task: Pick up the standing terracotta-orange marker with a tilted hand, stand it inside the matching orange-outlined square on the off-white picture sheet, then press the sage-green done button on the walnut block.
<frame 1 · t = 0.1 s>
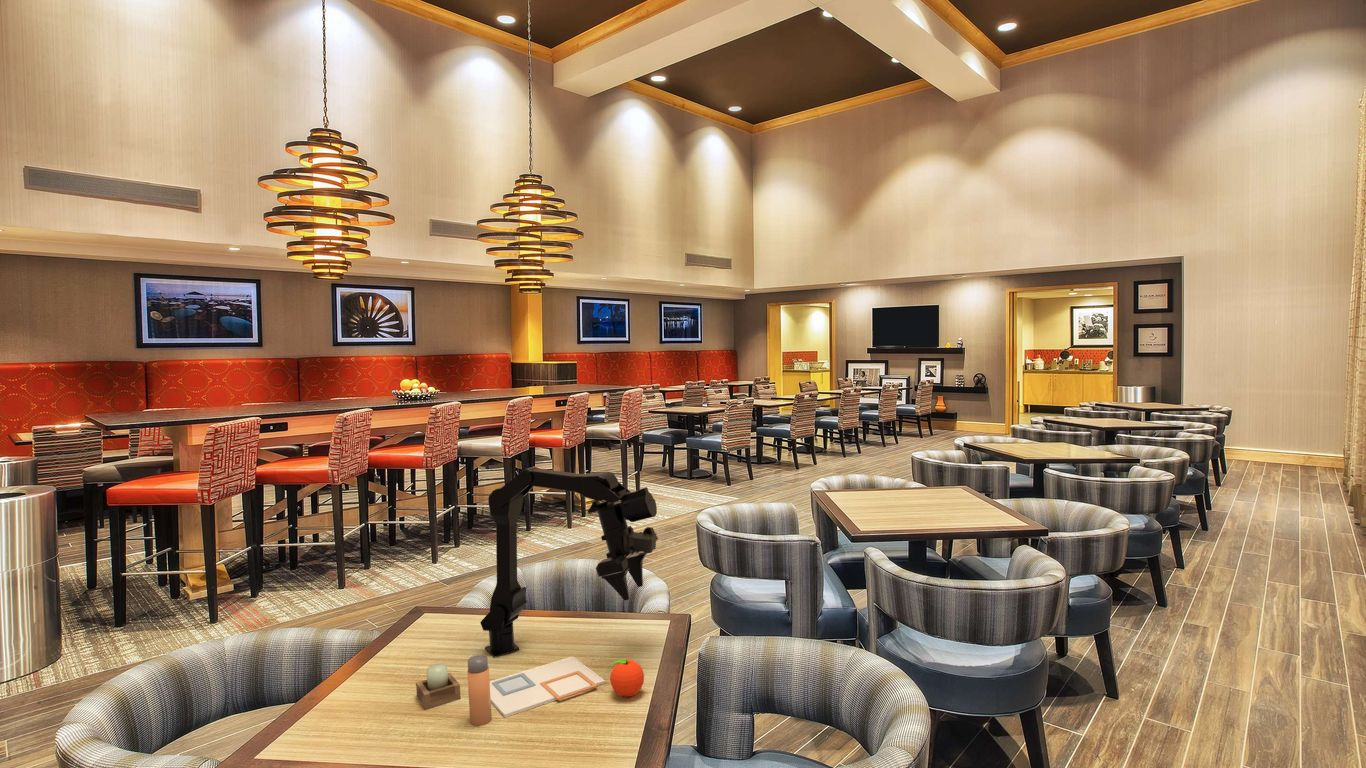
hand: (633, 593, 155), 15 cm above the table, tool pointing down, fingers open, 9 cm apart
picture sheet: (541, 685, 145), on the table
button base: (438, 697, 142), on the table
done button: (437, 677, 142), point 4 cm above the table, slide at 0.0 cm
clementine: (625, 695, 140), on the table
marker: (480, 720, 132), on the table
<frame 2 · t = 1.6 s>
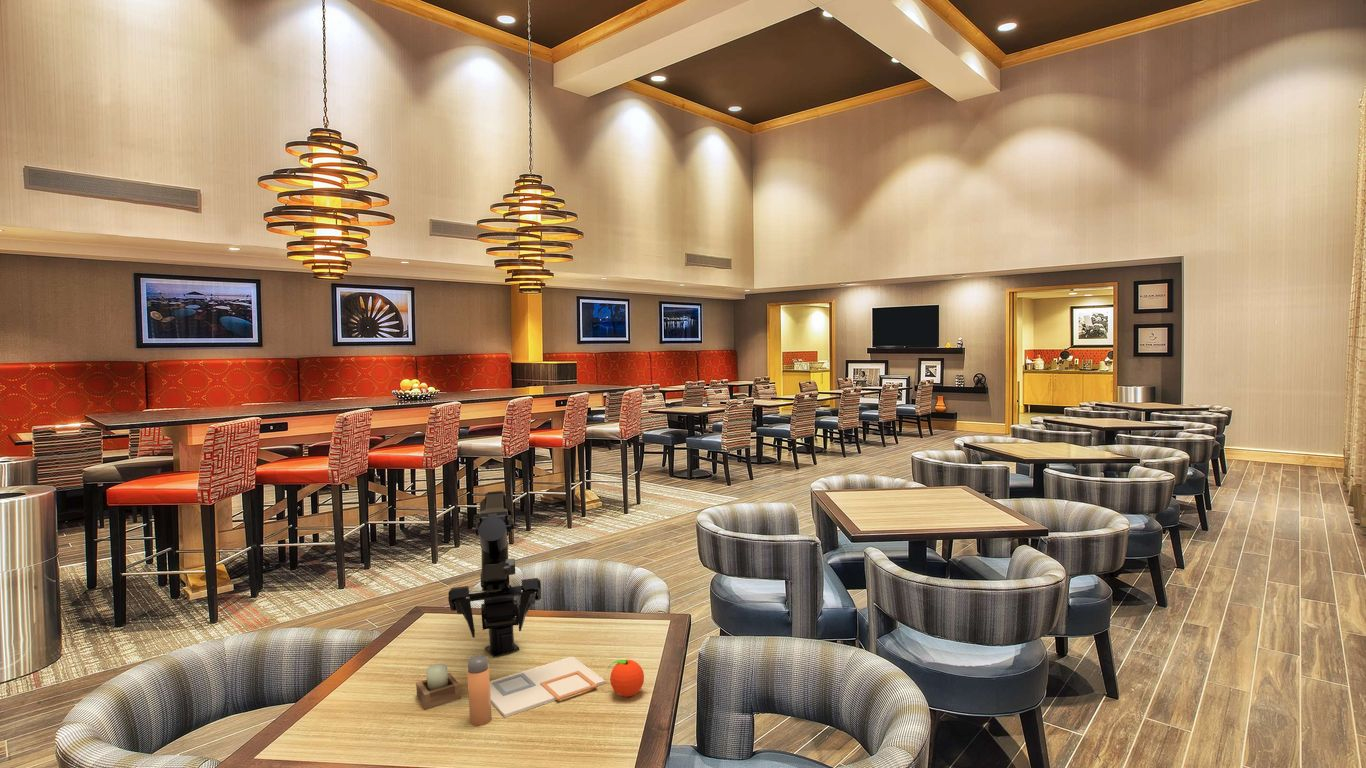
hand: (496, 633, 139), 14 cm above the table, tool tilted 40°, fingers open, 9 cm apart
nothing on the table moved.
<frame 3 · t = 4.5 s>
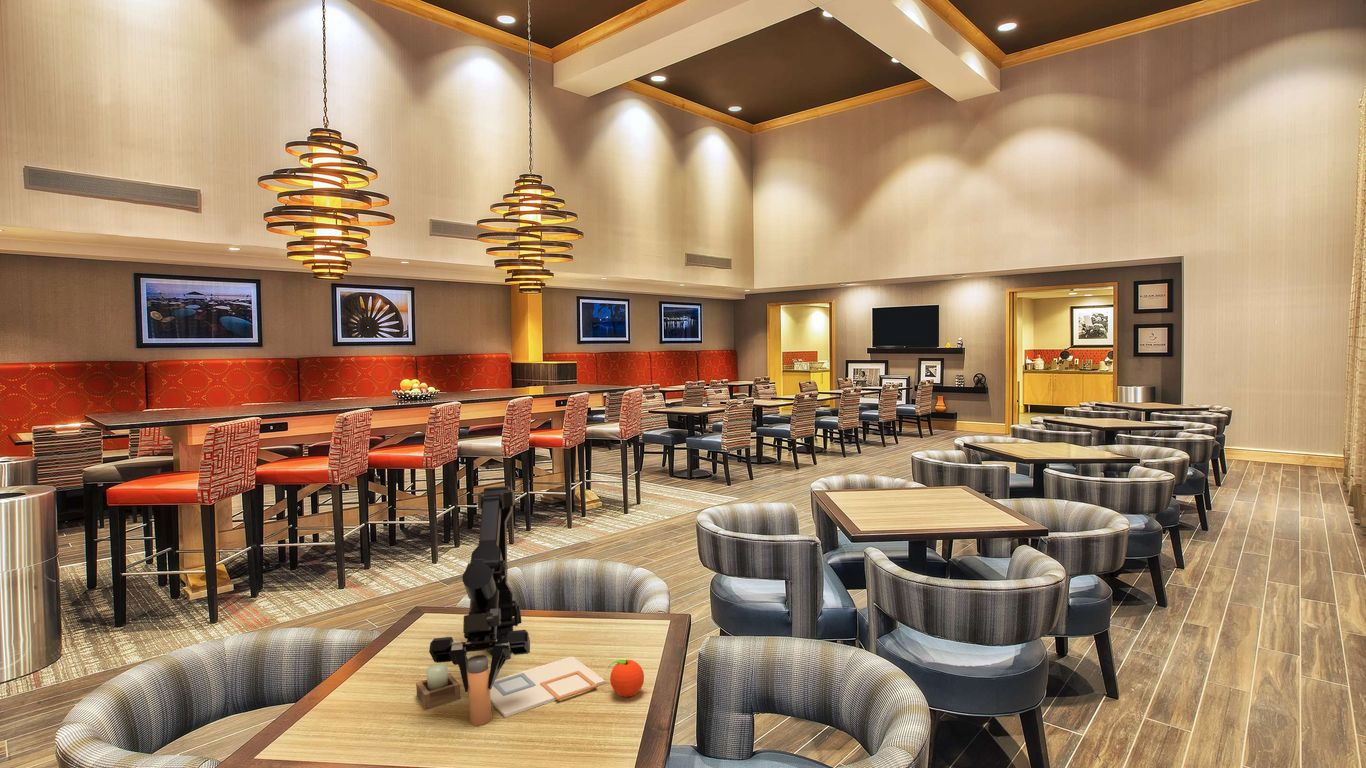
hand: (477, 690, 130), 7 cm above the table, tool tilted 45°, fingers closed on marker, 4 cm apart
marker: (480, 720, 132), on the table, touching gripper
everything else where it was.
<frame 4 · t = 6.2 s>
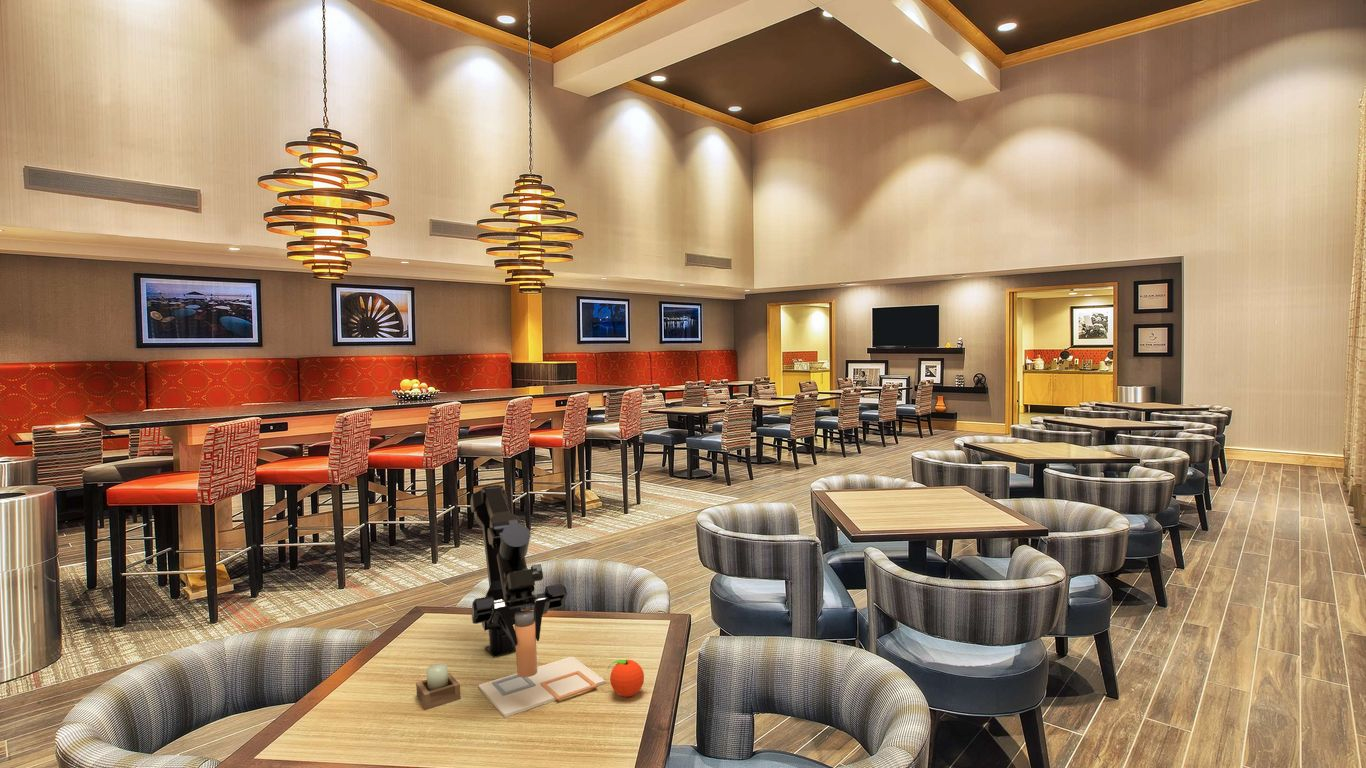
hand: (527, 642, 135), 13 cm above the table, tool tilted 45°, fingers closed on marker, 4 cm apart
marker: (527, 672, 136), point 7 cm above the table, touching gripper
everything else where it was.
when the fingers open (8 cm above the table, at t = 8.1 s): marker stays where it is, resting on picture sheet.
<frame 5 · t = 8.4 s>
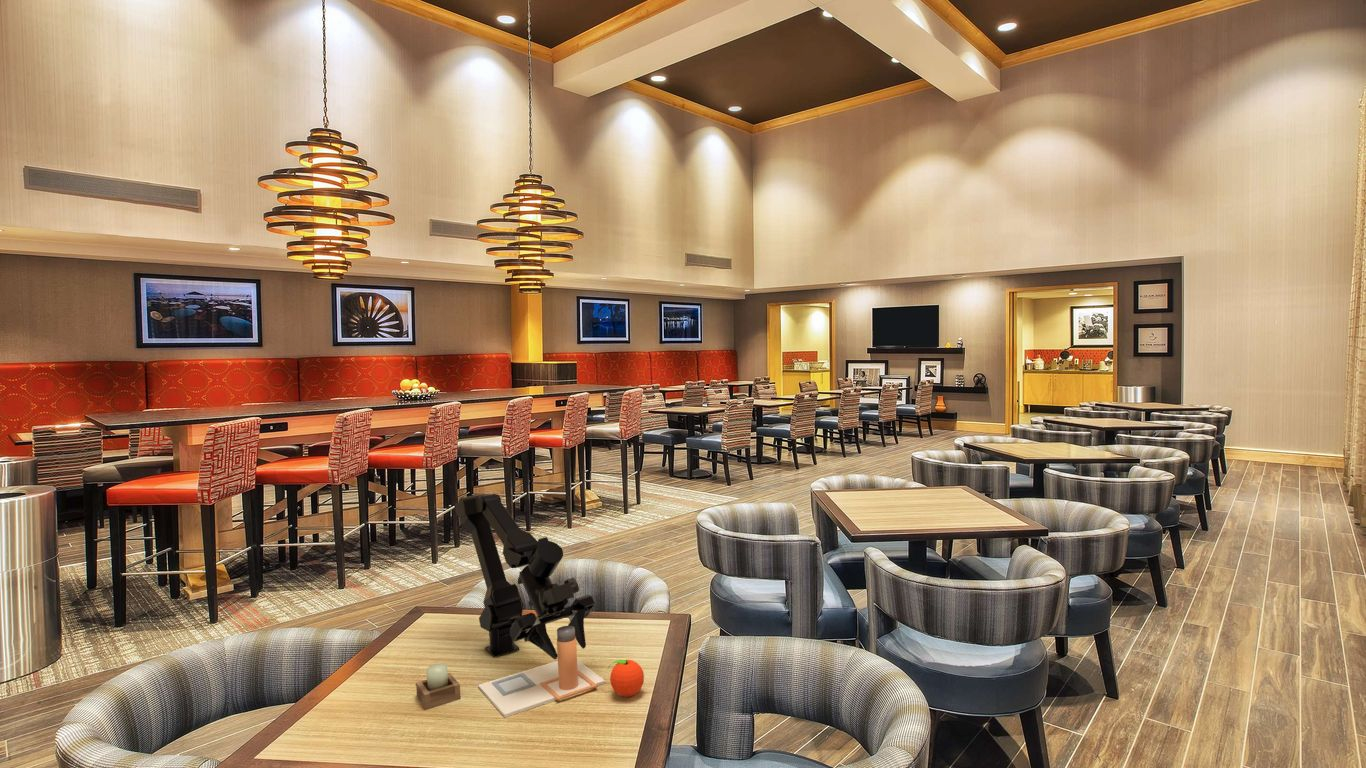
hand: (570, 652, 142), 8 cm above the table, tool tilted 45°, fingers open, 7 cm apart
marker: (568, 685, 143), point 1 cm above the table, touching picture sheet
everything else where it was.
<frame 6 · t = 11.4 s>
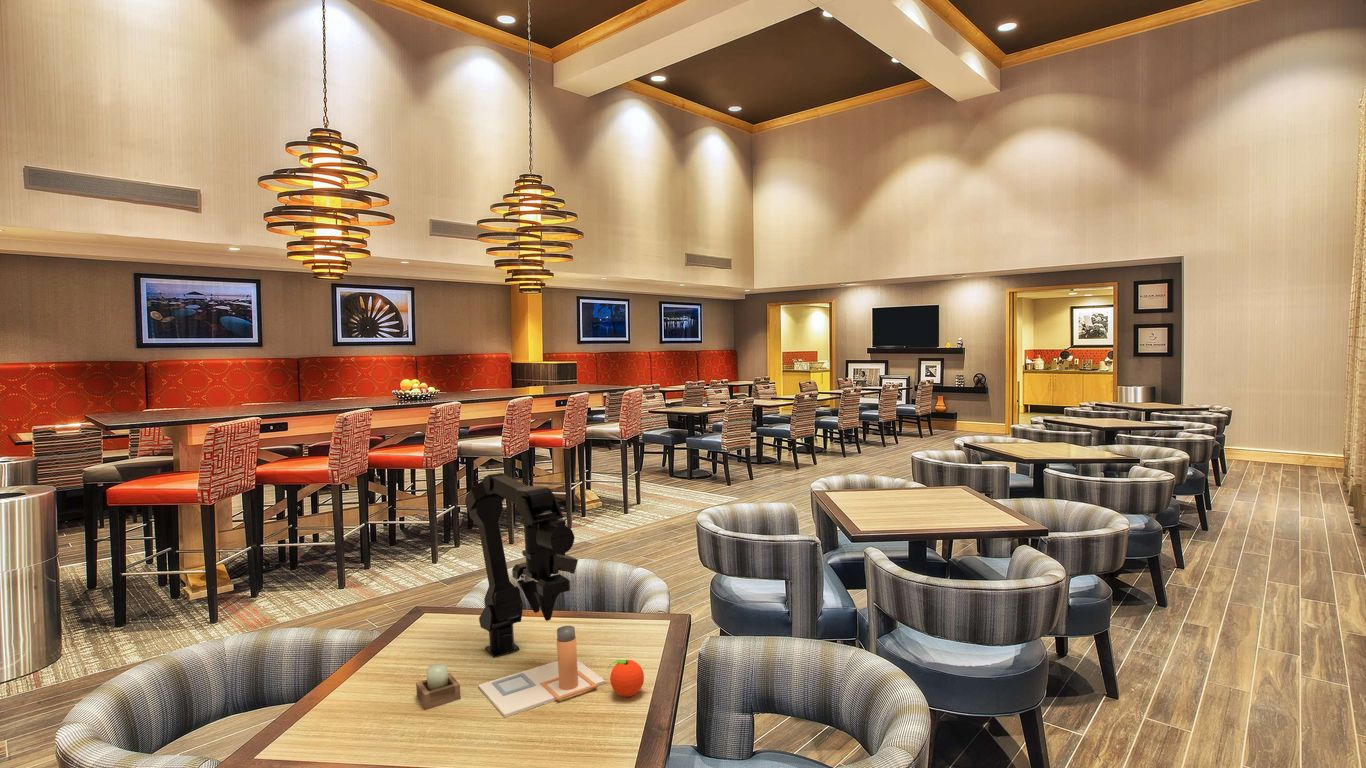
hand: (542, 616, 150), 13 cm above the table, tool pointing down, fingers open, 6 cm apart
nothing on the table moved.
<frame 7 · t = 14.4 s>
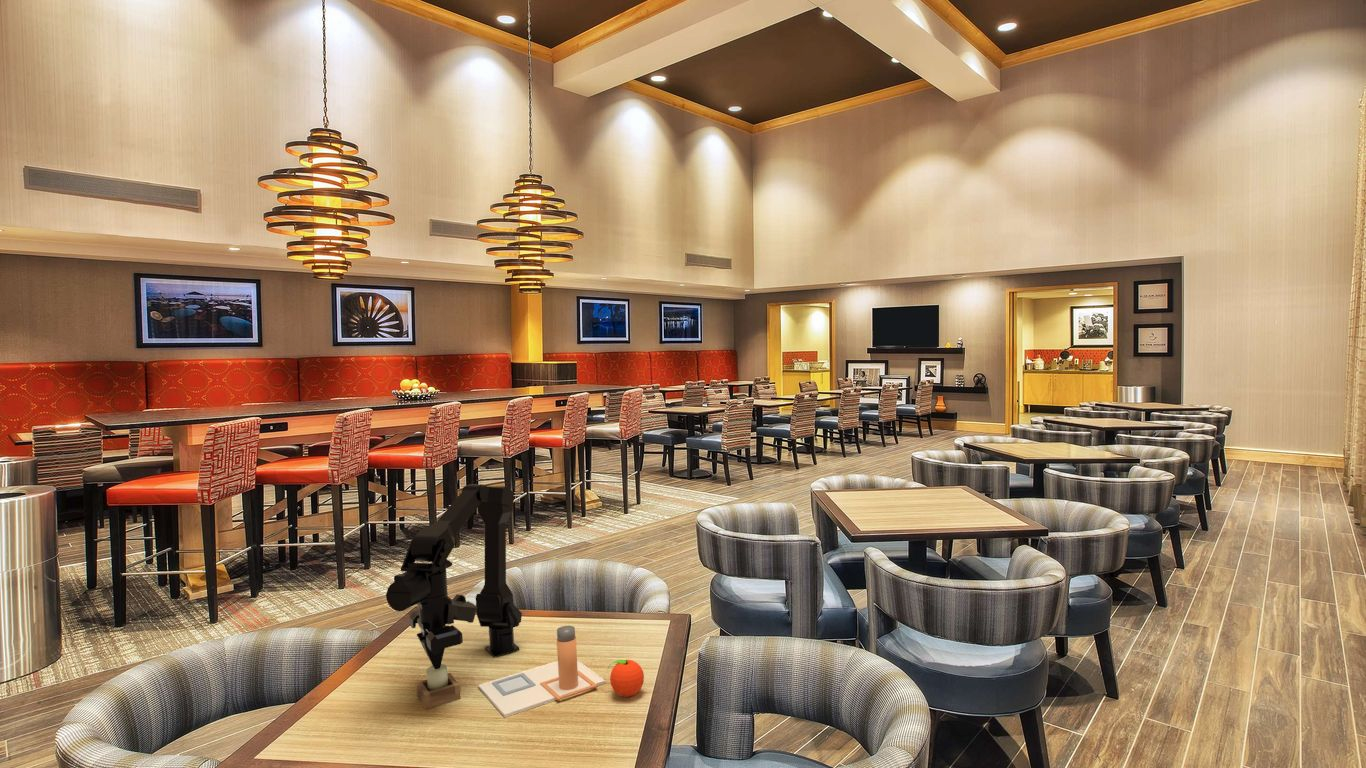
hand: (437, 668, 142), 6 cm above the table, tool pointing down, fingers closed, pressing on done button
done button: (437, 677, 142), point 4 cm above the table, slide at 0.1 cm, touching gripper
everything else where it was.
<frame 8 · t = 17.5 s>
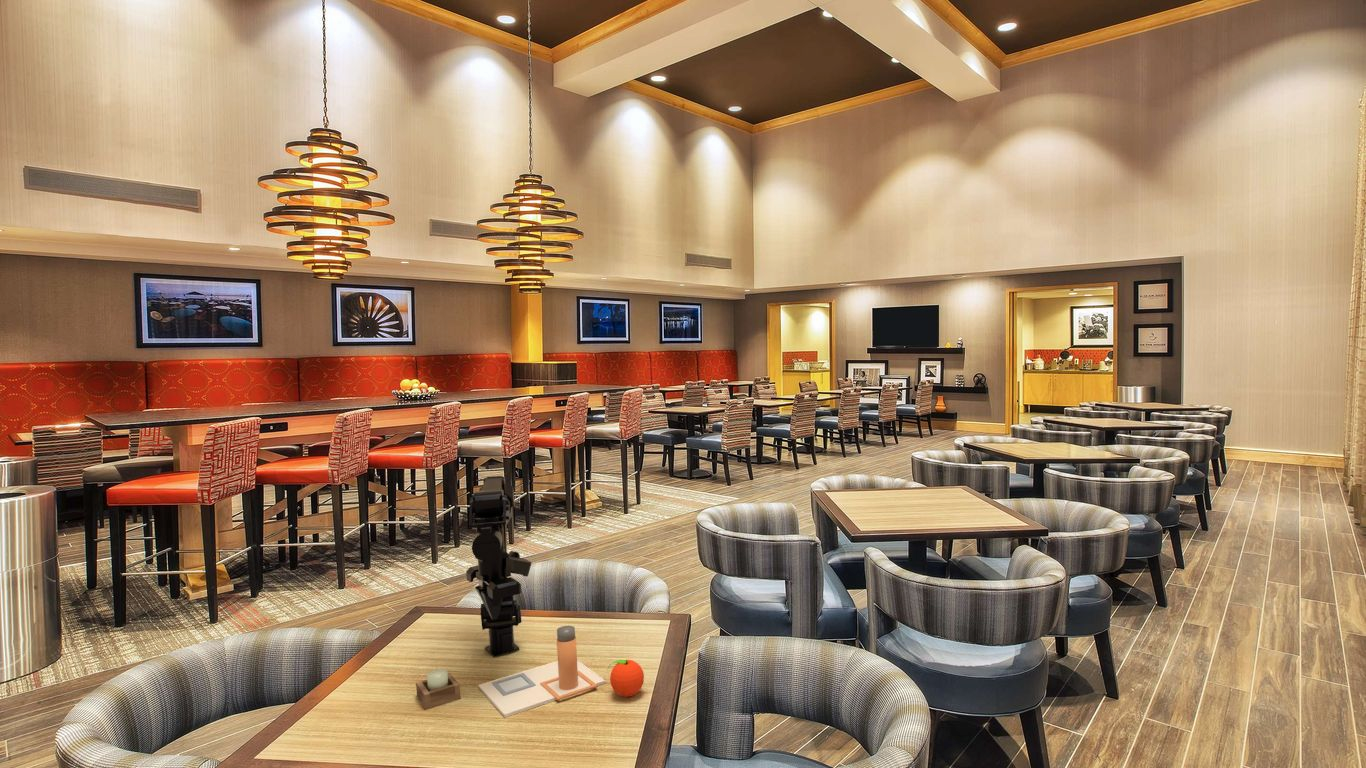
hand: (494, 619, 150), 13 cm above the table, tool pointing down, fingers closed
done button: (437, 683, 142), point 3 cm above the table, slide at 1.2 cm
everything else where it was.
at the end: marker 0.0 cm from the target spot on the picture sheet, point 0.6 cm above the picture sheet's base; marker tilted 0°; done button slide at 1.2 cm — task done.
